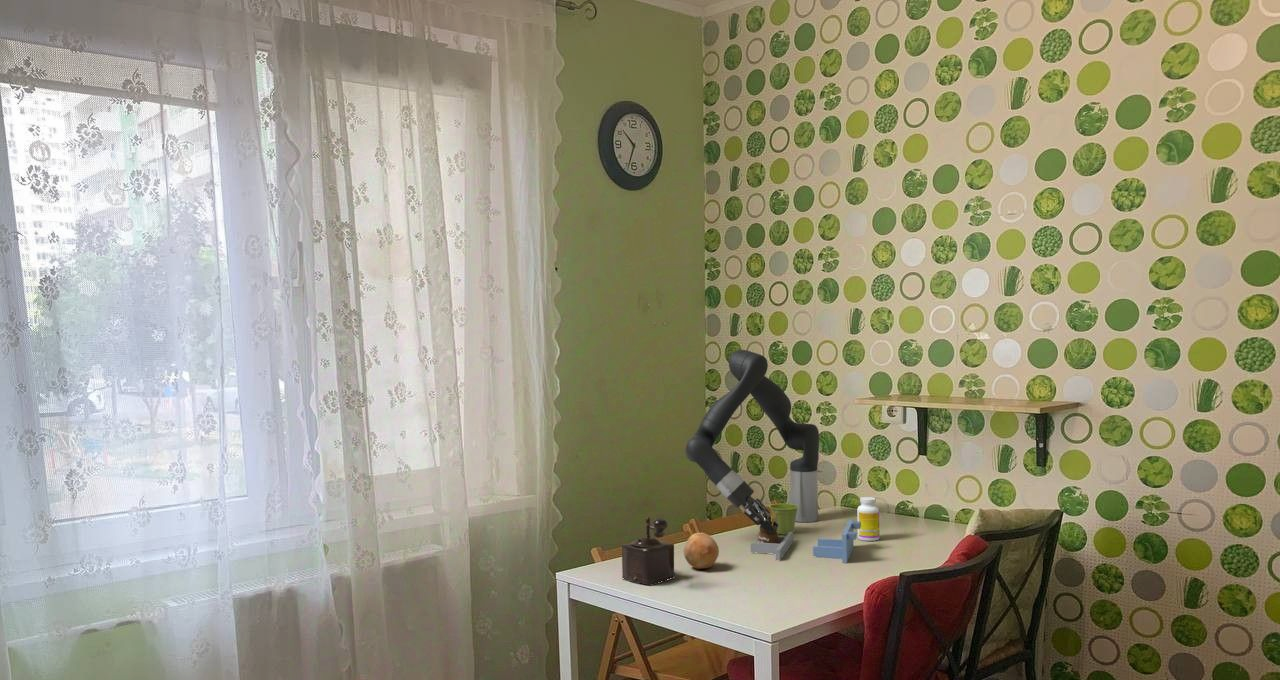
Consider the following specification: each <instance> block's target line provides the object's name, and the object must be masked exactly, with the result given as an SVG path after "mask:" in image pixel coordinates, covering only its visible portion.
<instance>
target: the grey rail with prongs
mask: <svg viewBox="0 0 1280 680" xmlns="http://www.w3.org/2000/svg"><path fill="white" fill-rule="evenodd" d="M785 535H786V536H783V535H778V544H776V543H759V541H758V536H759V534H757V535H756V542H754V541H752V542H750V553H751V552H757V553H756V554H758V553H773V554H772V555H774V554H776V555H775V561H776V560H780V559H781V560H782V558H783V557H784V555H785V554H786V553H787V551H788V550H789V548H790V547H791V545H792V544H793V543H794V533H793V532H789V533H787V534H785ZM791 543H792V544H791ZM790 544H791V545H790ZM789 546H790V547H789ZM788 547H789V548H788ZM787 549H788V550H787ZM786 550H787V551H786ZM785 552H786V553H785ZM784 553H785V554H784ZM782 556H783V557H782ZM781 560H780V561H781Z"/></svg>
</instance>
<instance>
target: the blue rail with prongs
mask: <svg viewBox="0 0 1280 680" xmlns="http://www.w3.org/2000/svg"><path fill="white" fill-rule="evenodd" d="M860 528H861V522H859V521H857V520H854V519H849V520H848V522H847V524H846V525H845V528H844V530H843V531H842V534H841V538H840V539H838V538H825V537H824V538H822V537H820V538H819V537H818V538H817V545H813V546H812V557H813V556H816V557H815V558H822V557H828V558H827V559H838V558H841V560H842V564H848V561H849V559H850V556H851V554H852V552H851V551H853V548H854V547H855V546H854V541H856V540H857V539H858V533H857V531H854V530H858V529H860ZM853 546H854V547H853Z"/></svg>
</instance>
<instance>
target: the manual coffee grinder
mask: <svg viewBox="0 0 1280 680" xmlns="http://www.w3.org/2000/svg"><path fill="white" fill-rule="evenodd" d="M644 526H645V529H646V530H645V531H646V533H645V536H642V537H641V536H640V538H637V540H635V541H632V542H628V543H624V544H622V545H621V565H622V568H621V569H622V577H621V579H622V578H624V579H627V580H630V581H629V582H631V581H633V582H632V583H634V582H638V583H637V584H640V583H642V584H641V585H645V584H646V585H647V586H651V585H650V584H654V585H656V584H655V583H658V582H661V581H665V580H667V579H670V578H673V577H674V578H675V544H674V543H670V542H666V541H661V540H659V539H658V538H663V537H665V535H666V534H665V530H666V529H667V528H668V522H667V520H666V519H664V518H659V517H658V518H655V519H654V520H653V522H652V524H651V517H648V516H647V517H646V518H645V524H644ZM650 529H651V530H652V531H654V532H653V536H654V537H653V536H651V535H650ZM674 578H673V579H674ZM624 579H623V580H624ZM627 580H626V581H627ZM665 582H666V581H665ZM661 583H662V582H661ZM658 584H659V583H658Z"/></svg>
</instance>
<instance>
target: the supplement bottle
mask: <svg viewBox="0 0 1280 680" xmlns="http://www.w3.org/2000/svg"><path fill="white" fill-rule="evenodd" d="M859 500H860V501H859V502H860V505H859V506H858V507H857V511H856V513H857V516H856V517H857V518H856V519H857V520H856V521H859V522H861V528H860V529H857V539H859V541H863V542H877V541H878V540H880V508H879V507H878V506H876V501H877V500H876V498H875V497H872V496H862V497H860V499H859ZM876 540H877V541H876Z"/></svg>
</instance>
